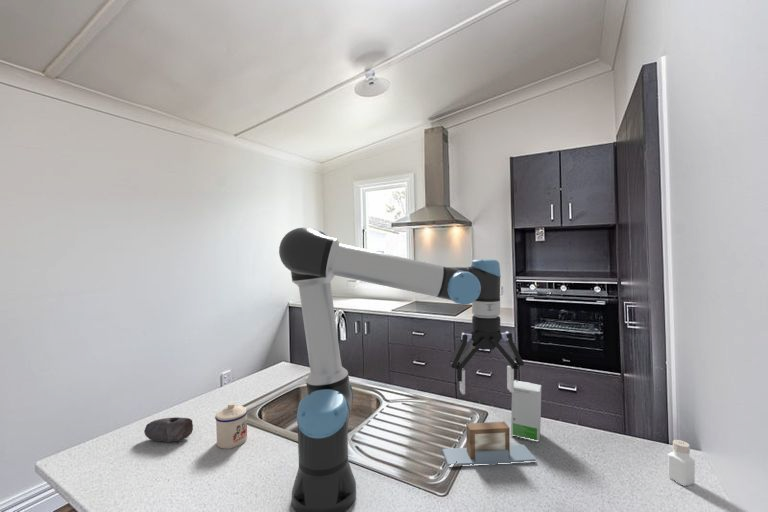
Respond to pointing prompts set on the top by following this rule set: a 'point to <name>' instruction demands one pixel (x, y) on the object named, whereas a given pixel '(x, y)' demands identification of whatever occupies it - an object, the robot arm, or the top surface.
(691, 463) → the pepper shaker
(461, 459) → the picture ledge
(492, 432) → the walnut frame
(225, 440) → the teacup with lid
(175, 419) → the perforated stone tool
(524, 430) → the skincare box
